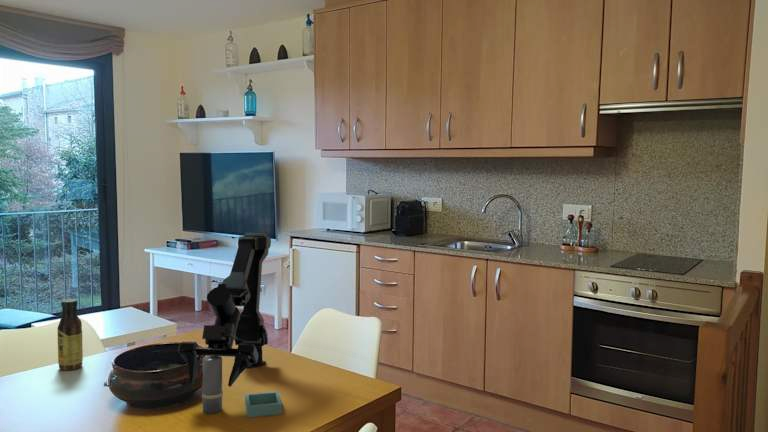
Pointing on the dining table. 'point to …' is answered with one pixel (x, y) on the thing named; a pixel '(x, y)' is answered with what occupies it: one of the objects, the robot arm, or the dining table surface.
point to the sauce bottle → (70, 337)
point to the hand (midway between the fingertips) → (210, 385)
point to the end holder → (263, 404)
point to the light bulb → (212, 384)
